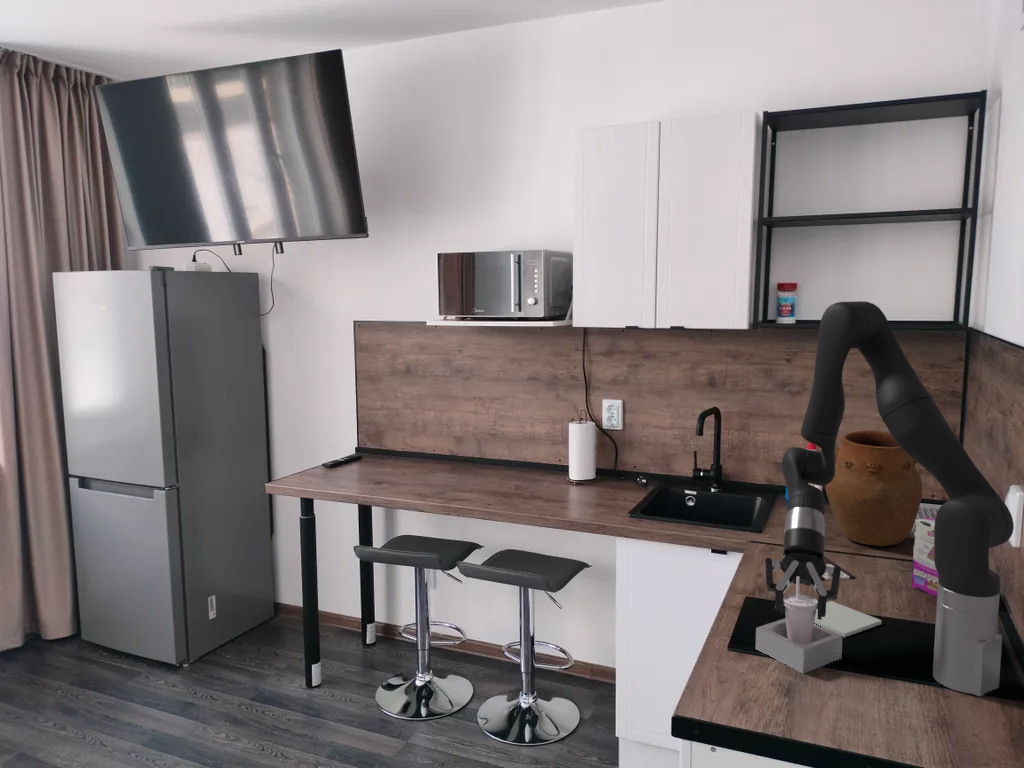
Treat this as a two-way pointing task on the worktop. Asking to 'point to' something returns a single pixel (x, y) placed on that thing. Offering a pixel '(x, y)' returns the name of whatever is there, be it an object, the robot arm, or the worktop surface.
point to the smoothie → (800, 615)
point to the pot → (874, 489)
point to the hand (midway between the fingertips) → (799, 614)
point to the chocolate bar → (829, 563)
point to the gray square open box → (799, 646)
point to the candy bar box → (924, 557)
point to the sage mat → (845, 620)
